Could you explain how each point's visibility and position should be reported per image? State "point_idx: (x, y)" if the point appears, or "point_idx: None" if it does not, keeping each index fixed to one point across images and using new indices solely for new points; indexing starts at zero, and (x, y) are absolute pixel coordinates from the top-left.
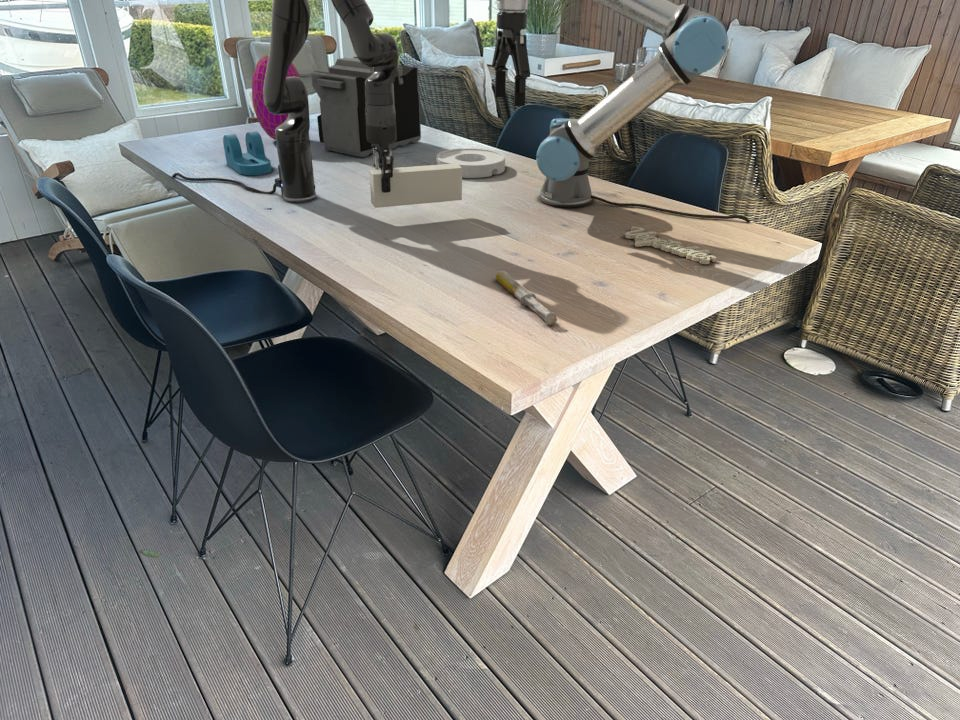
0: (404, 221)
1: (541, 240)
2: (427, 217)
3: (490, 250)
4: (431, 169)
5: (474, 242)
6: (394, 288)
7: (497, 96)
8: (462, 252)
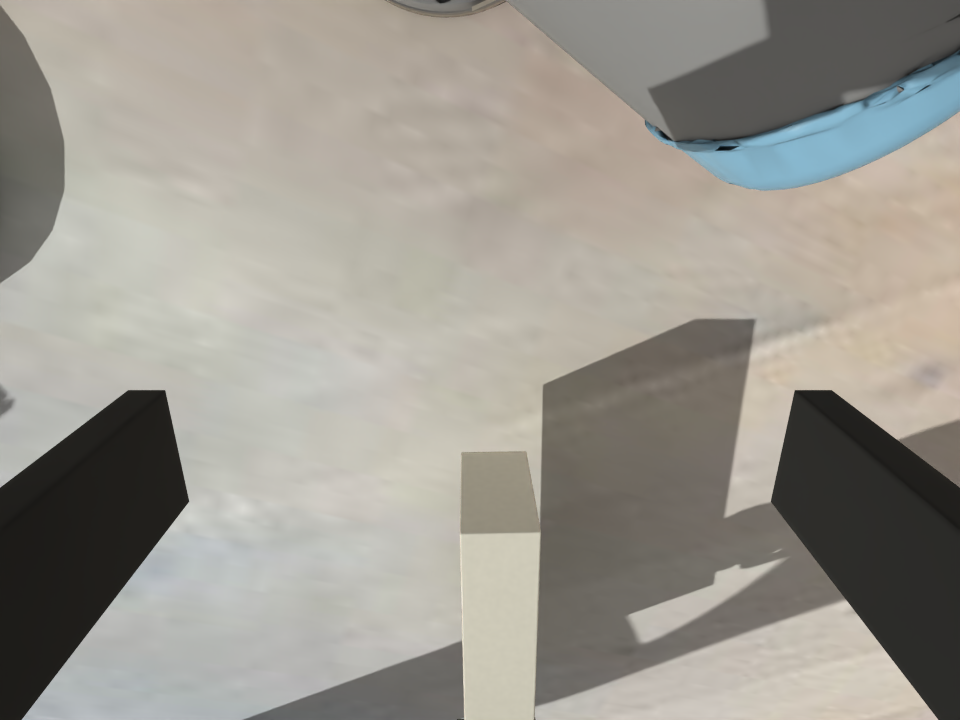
0: None
1: (872, 238)
2: None
3: None
4: (528, 649)
5: (768, 454)
6: None
7: (179, 488)
8: None
